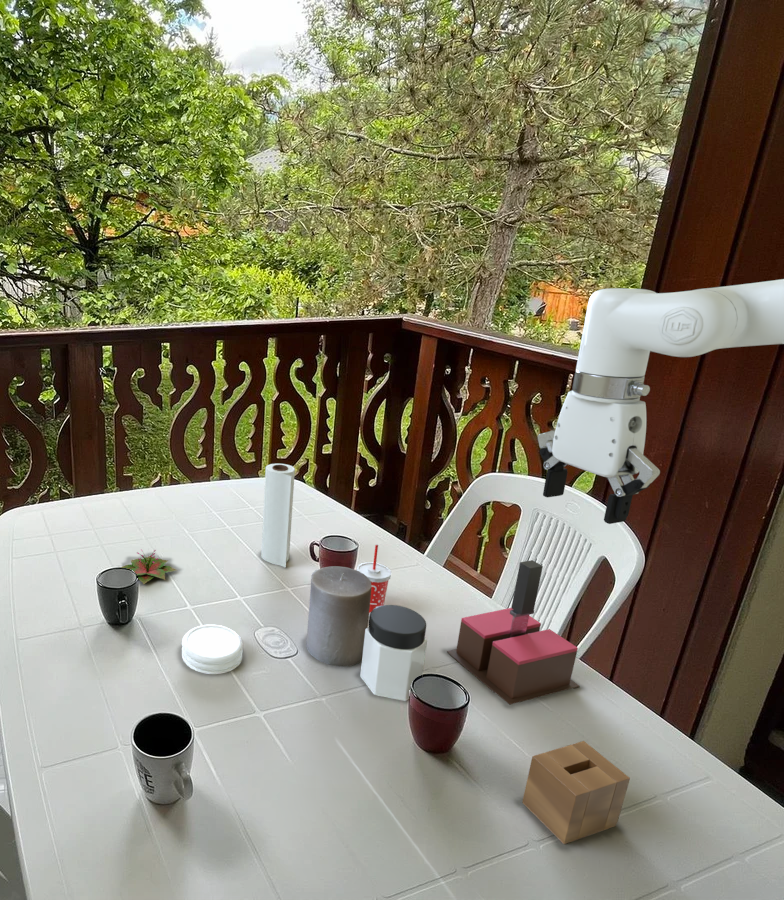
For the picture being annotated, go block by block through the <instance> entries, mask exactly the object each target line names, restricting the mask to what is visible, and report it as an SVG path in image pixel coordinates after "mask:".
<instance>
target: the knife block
mask: <svg viewBox="0 0 784 900" xmlns="http://www.w3.org/2000/svg"><path fill="white" fill-rule="evenodd" d="M630 781H631V778H630V777H629V776H628V775H627V774H625V772H623V771H622V770H621V769H620V768H618V767H617V766H616V765H615V764H613V763H612V762H611V761H610V760H608V759H607V758H606V757H604V755H602V754H601V753H599V752H598V751H597V750H596V749H594V748H593V747H592V745H590V744H589V743H587V742H586V741H585V740H582V741H578V742H575V743H571V744H569V745H565V746H561V747H559V748H555V749H552V750H549V751H545V752H542V753H538V754H535V755H532V757H531V761H530V766H529V770H528V775H527V779H526V784H525V787H524V788H525V789H524V792H523V797H522V804H523V805H524V806H525V807H526V808H527V809H528V810H529V811H530V812H531V813H532V814H533V815H534V816H535V817H536V818H537V819H538V820H539V822H541V824H543V825H544V826H545V827H546V828H547V829H548V830H549V831H550V832H551V833H552V834H553V835H554V836H555V837H556V838H557V839H558V840H559V842H561V843H562V845H566V844H569V843H571V842H575V841H578V840H580V839H584V838H586V837H589V836H592V835H595V834H598V833H601V832H603V831H606V830H608V829H611V828H614V827H617V826H618V823H619V819H620V815H621V811H622V809H623V805H624V801H625V797H626V793H627V790H628V787H629V783H630Z"/></svg>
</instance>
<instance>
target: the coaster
mask: <svg viewBox="0 0 784 900" xmlns="http://www.w3.org/2000/svg"><path fill="white" fill-rule="evenodd" d="M243 648H244V644H243V640H242V637H241V636H240V635H239V634H238V633H237V632H236V631H235V630H233V629H231V628H229V627H227V626H224V625H220V624H203V625H198V626H195V627H193V628H191V629H190V630H188V631H187V632H186V633H185V634H184V635H183V637H182V640H181V657H182V661H183V663H184V664H185V665H186V666H187V667H189V668H190V669H191V670H193V671H195V672H198V673H201V674H207V675H220V674H226V673H228V672H231V671H233V670H235V669H236V668H237V667H239V666H240V664H241V663H242V661H243V654H244V653H243V651H244V650H243Z"/></svg>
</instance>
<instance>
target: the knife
mask: <svg viewBox="0 0 784 900" xmlns="http://www.w3.org/2000/svg"><path fill="white" fill-rule="evenodd" d="M543 566H544V565H542V564H540V563H538V562H536V561H534V560H533V559H530V560H525V561H520V562H519V565H518V571H517V577H516V582H515V586H514V592H513V596H512V603H511V607H510V608H512V609H513V610H510V614H511V615H512V616H513V619H512V624H511V629H510V634H509V638H512V637H516V636H521V635H525V634H526V629H527V624H528V619H529V616H531V615H534V613H535V606H536V603H537V602H536V601H537V597H538V592H539V586H540V583H541V577H542V573H543Z"/></svg>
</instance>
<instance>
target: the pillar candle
mask: <svg viewBox="0 0 784 900" xmlns="http://www.w3.org/2000/svg"><path fill="white" fill-rule="evenodd" d="M371 588H372V586H371V581H370V579H369V578H368V577H367V576H366V575H364V574H363V573H361V572H359V571H357V569H354V568H350V567H347V566H338V565H337V566H336V565H334V566H333V565H332V566H325V567H321V568H318V569H316V570H314V571H313V572H312V573H311V575H310V591H309V606H308V614H307V615H308V617H307V629H306V632H307V633H306V650H307V651H308V653H309V654H310V655H311V656H312V658H314V659H316V661H319V662H321V663H323V664H327V665H330V666H335V667H352V666H355V665H357V664H360V662H362V655H363V646H364V637H365V629H366V628H368V627H369V617H370V616H369V609H370V600H371Z"/></svg>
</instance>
